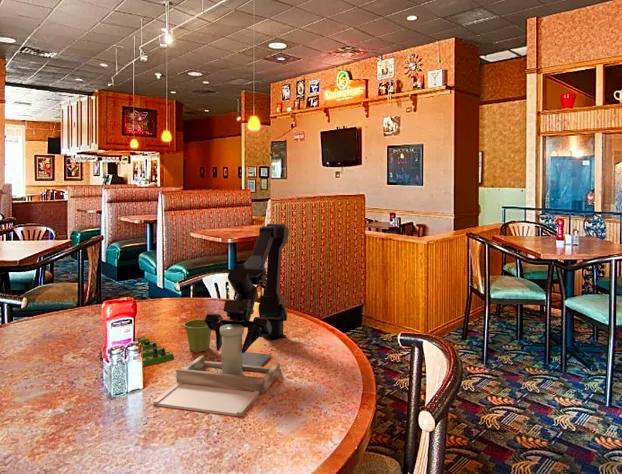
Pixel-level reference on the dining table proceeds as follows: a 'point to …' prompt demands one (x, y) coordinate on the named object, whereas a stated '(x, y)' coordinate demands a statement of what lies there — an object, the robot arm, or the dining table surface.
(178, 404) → the frame lid
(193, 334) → the plant pot
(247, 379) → the frame
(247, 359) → the slate pad
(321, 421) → the dining table surface
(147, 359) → the toy garden set
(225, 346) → the pale lidded canister
